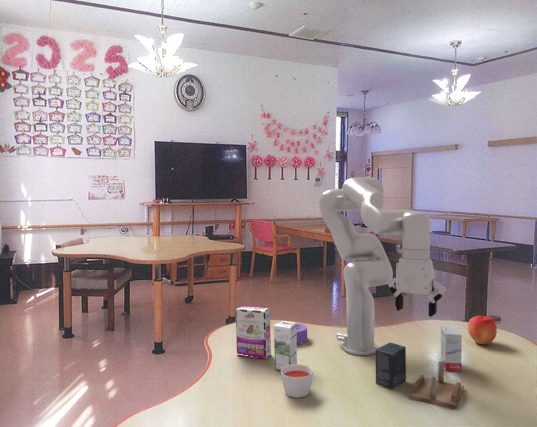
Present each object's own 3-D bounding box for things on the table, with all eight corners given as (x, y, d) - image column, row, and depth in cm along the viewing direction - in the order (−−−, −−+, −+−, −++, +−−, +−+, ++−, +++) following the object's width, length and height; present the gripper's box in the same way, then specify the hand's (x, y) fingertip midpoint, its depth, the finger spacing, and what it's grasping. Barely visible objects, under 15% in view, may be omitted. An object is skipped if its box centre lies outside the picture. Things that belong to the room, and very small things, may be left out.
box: (389, 375, 136) (389, 341, 135) (406, 381, 132) (406, 346, 131) (374, 384, 131) (374, 348, 130) (392, 390, 126) (392, 353, 126)
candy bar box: (271, 354, 154) (270, 307, 153) (266, 359, 150) (265, 311, 149) (242, 350, 159) (241, 305, 158) (236, 355, 154) (235, 308, 153)
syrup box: (297, 365, 144) (297, 321, 143) (290, 373, 139) (290, 327, 138) (281, 363, 147) (280, 319, 146) (274, 370, 141) (273, 325, 141)
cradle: (408, 398, 122) (408, 373, 121) (420, 380, 133) (420, 357, 132) (456, 409, 115) (456, 382, 115) (463, 389, 126) (464, 365, 126)
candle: (303, 403, 120) (303, 380, 120) (275, 395, 125) (274, 373, 124) (318, 389, 128) (318, 368, 127) (291, 382, 132) (290, 361, 132)
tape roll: (278, 334, 176) (278, 321, 175) (308, 335, 174) (308, 322, 174) (274, 344, 164) (274, 331, 164) (306, 346, 162) (306, 332, 162)
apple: (498, 341, 163) (498, 314, 163) (495, 349, 155) (495, 321, 155) (469, 337, 168) (469, 310, 168) (465, 344, 160) (465, 317, 160)
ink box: (461, 372, 137) (462, 335, 137) (445, 371, 138) (445, 334, 138) (456, 361, 146) (456, 326, 145) (440, 360, 147) (440, 325, 146)
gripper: (382, 253, 132) (382, 310, 133) (441, 259, 121) (440, 321, 122) (393, 250, 138) (393, 304, 139) (450, 255, 126) (450, 314, 128)
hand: (415, 312), depth 130 cm, fingers open, 9 cm apart
